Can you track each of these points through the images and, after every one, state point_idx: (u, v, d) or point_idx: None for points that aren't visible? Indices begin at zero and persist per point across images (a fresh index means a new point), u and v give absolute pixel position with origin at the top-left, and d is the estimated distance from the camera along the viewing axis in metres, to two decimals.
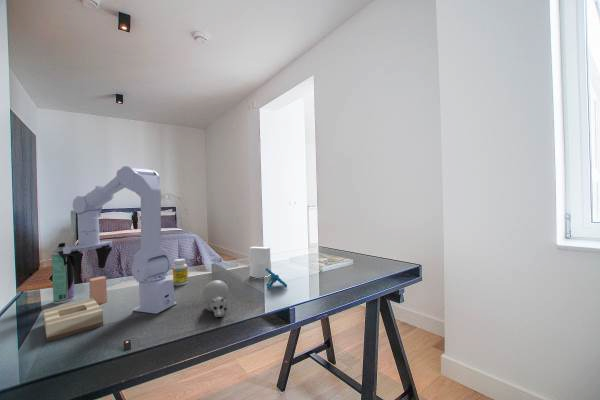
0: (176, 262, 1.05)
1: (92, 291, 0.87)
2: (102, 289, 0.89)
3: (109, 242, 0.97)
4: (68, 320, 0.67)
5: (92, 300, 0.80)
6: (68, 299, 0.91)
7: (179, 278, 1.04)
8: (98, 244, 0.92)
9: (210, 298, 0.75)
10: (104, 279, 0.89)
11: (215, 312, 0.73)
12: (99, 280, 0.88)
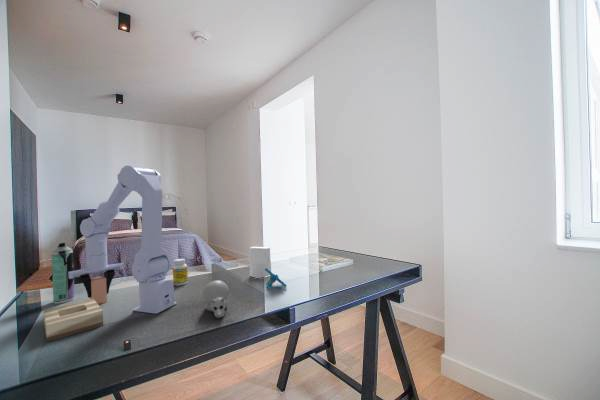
0: (176, 262, 1.05)
1: (92, 291, 0.87)
2: (102, 289, 0.89)
3: (119, 265, 0.93)
4: (68, 320, 0.67)
5: (92, 300, 0.80)
6: (68, 299, 0.91)
7: (179, 278, 1.04)
8: (103, 269, 0.88)
9: (210, 298, 0.75)
10: (104, 279, 0.89)
11: (215, 312, 0.73)
12: (99, 280, 0.88)
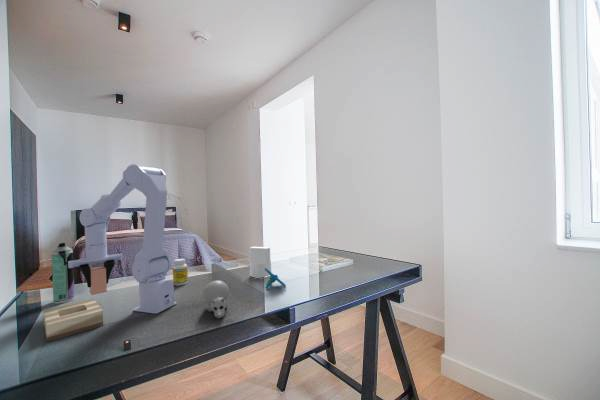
0: (176, 262, 1.05)
1: (91, 281, 0.87)
2: (102, 279, 0.89)
3: (119, 256, 0.93)
4: (68, 320, 0.67)
5: (92, 300, 0.80)
6: (68, 299, 0.91)
7: (179, 278, 1.04)
8: (102, 258, 0.88)
9: (210, 298, 0.75)
10: (104, 269, 0.89)
11: (215, 313, 0.72)
12: (99, 270, 0.88)
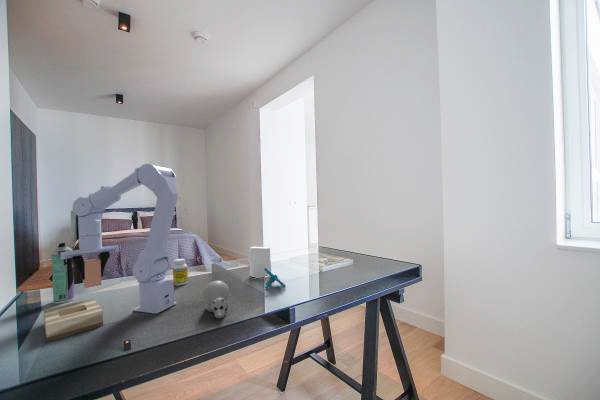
0: (176, 262, 1.05)
1: (85, 273, 0.83)
2: (96, 272, 0.85)
3: (114, 247, 0.89)
4: (68, 320, 0.67)
5: (92, 300, 0.80)
6: (68, 299, 0.91)
7: (179, 278, 1.04)
8: (97, 250, 0.84)
9: (210, 299, 0.75)
10: (98, 261, 0.85)
11: (215, 313, 0.72)
12: (93, 262, 0.84)
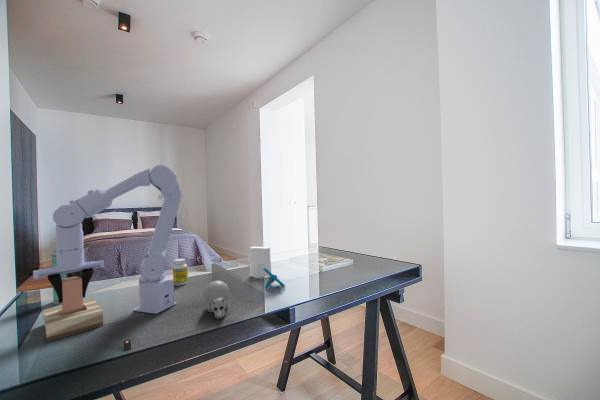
0: (176, 262, 1.05)
1: (63, 294, 0.70)
2: (77, 292, 0.72)
3: (99, 263, 0.76)
4: (68, 320, 0.67)
5: (92, 300, 0.80)
6: None
7: (179, 278, 1.04)
8: (77, 267, 0.71)
9: (211, 299, 0.75)
10: (79, 280, 0.72)
11: (215, 313, 0.72)
12: (73, 281, 0.71)
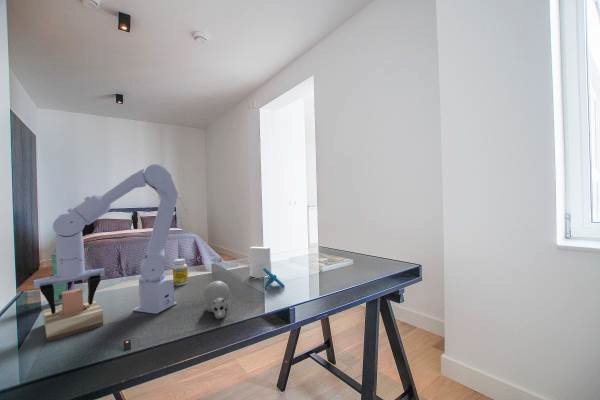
0: (176, 262, 1.05)
1: (64, 308, 0.70)
2: (78, 305, 0.72)
3: (99, 271, 0.76)
4: (68, 320, 0.67)
5: None
6: None
7: (179, 278, 1.04)
8: (78, 276, 0.71)
9: (211, 299, 0.75)
10: (80, 293, 0.72)
11: (216, 313, 0.72)
12: (73, 294, 0.71)
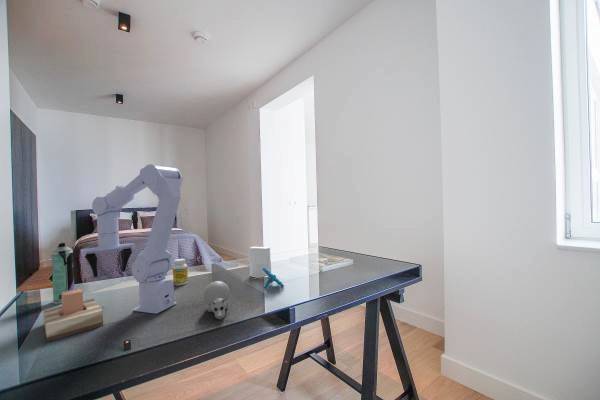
0: (176, 262, 1.05)
1: (64, 308, 0.70)
2: (78, 305, 0.72)
3: (131, 245, 0.92)
4: (68, 320, 0.67)
5: (92, 300, 0.80)
6: None
7: (179, 278, 1.04)
8: (115, 247, 0.88)
9: (211, 299, 0.75)
10: (80, 293, 0.72)
11: (216, 313, 0.72)
12: (73, 294, 0.71)
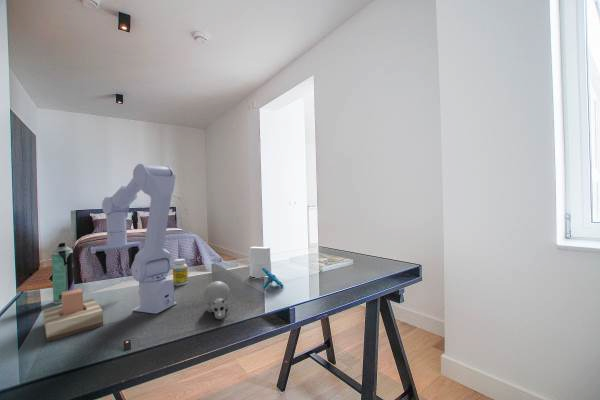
0: (176, 262, 1.05)
1: (64, 308, 0.70)
2: (78, 305, 0.72)
3: (138, 243, 0.97)
4: (68, 320, 0.67)
5: (92, 300, 0.80)
6: None
7: (179, 278, 1.04)
8: (123, 245, 0.92)
9: (211, 299, 0.74)
10: (80, 293, 0.72)
11: (216, 314, 0.72)
12: (73, 294, 0.71)
